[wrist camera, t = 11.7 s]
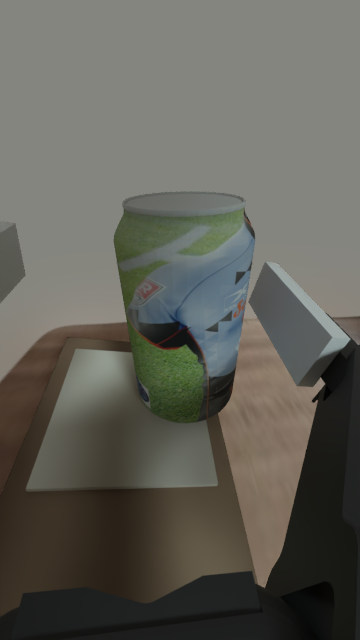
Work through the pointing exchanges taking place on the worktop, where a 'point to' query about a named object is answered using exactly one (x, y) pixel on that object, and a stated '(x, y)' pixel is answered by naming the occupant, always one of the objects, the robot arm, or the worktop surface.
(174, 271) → the beverage can
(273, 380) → the worktop surface
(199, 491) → the riser
